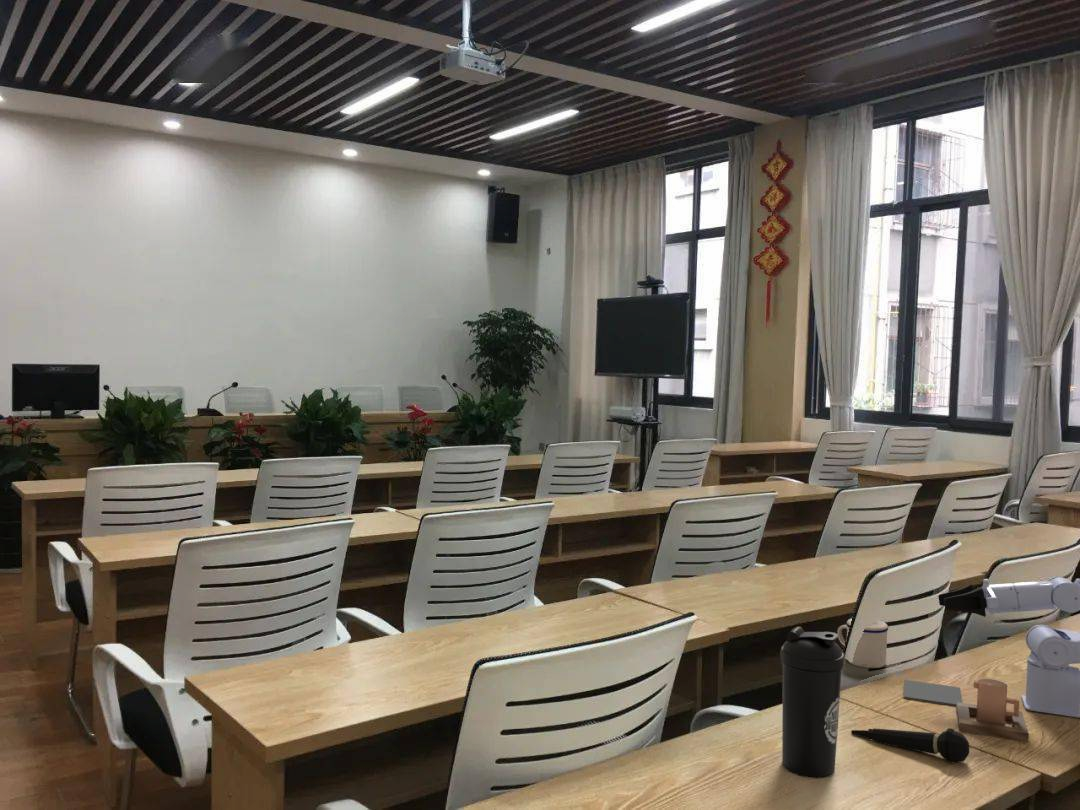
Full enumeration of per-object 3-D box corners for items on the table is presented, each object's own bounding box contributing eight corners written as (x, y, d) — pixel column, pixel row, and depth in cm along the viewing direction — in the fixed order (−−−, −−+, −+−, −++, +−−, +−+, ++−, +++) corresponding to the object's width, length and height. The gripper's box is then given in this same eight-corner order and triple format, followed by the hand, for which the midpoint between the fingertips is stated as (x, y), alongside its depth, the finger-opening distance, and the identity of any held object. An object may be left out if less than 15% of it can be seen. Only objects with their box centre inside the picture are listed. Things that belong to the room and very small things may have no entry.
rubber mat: (960, 689, 190) (960, 687, 190) (962, 707, 180) (962, 705, 180) (904, 681, 194) (904, 679, 194) (903, 698, 184) (903, 696, 184)
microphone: (850, 754, 164) (968, 773, 152) (844, 727, 163) (963, 744, 150) (858, 736, 168) (974, 752, 156) (853, 709, 167) (969, 724, 155)
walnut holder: (1021, 719, 174) (1021, 711, 174) (1028, 741, 163) (1028, 733, 163) (956, 709, 178) (956, 701, 178) (958, 730, 168) (959, 722, 168)
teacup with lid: (894, 664, 205) (896, 613, 205) (872, 671, 200) (874, 620, 199) (848, 650, 215) (850, 602, 214) (826, 657, 209) (827, 607, 209)
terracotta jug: (972, 726, 170) (974, 685, 169) (971, 717, 174) (973, 676, 174) (1019, 734, 167) (1021, 691, 166) (1016, 724, 171) (1018, 683, 171)
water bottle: (831, 786, 144) (836, 645, 143) (769, 770, 149) (773, 633, 148) (846, 763, 153) (851, 630, 152) (787, 748, 158) (791, 619, 157)
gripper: (1002, 574, 189) (933, 579, 192) (1019, 580, 175) (944, 585, 178) (1008, 608, 188) (938, 613, 191) (1025, 617, 174) (950, 621, 177)
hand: (941, 602), depth 185 cm, fingers open, 7 cm apart
